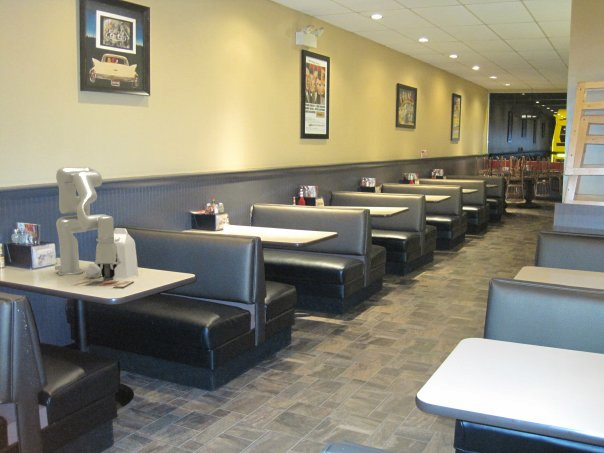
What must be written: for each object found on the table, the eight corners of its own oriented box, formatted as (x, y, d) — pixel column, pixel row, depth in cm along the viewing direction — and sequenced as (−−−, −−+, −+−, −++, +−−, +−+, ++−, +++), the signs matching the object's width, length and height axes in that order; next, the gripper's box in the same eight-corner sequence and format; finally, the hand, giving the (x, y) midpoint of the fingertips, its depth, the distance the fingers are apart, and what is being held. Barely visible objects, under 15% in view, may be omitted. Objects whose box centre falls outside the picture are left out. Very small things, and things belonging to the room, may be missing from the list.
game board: (69, 287, 297) (69, 285, 296) (82, 281, 309) (82, 280, 309) (123, 288, 293) (123, 286, 293) (133, 282, 306) (133, 281, 306)
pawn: (101, 280, 298) (100, 261, 297) (106, 278, 303) (105, 259, 302) (110, 280, 298) (109, 261, 296) (115, 278, 302) (114, 259, 301)
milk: (138, 275, 324) (136, 227, 321) (126, 279, 313) (124, 230, 310) (118, 274, 328) (116, 227, 324) (106, 278, 317) (104, 229, 313)
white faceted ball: (92, 282, 310) (103, 266, 312) (79, 273, 311) (90, 258, 313) (98, 284, 318) (108, 269, 320) (84, 276, 319) (95, 261, 321)
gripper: (87, 241, 295) (89, 278, 297) (119, 241, 293) (120, 278, 295) (94, 239, 303) (96, 275, 305) (125, 239, 300) (127, 275, 303)
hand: (108, 276), depth 300 cm, fingers closed on pawn, 3 cm apart
